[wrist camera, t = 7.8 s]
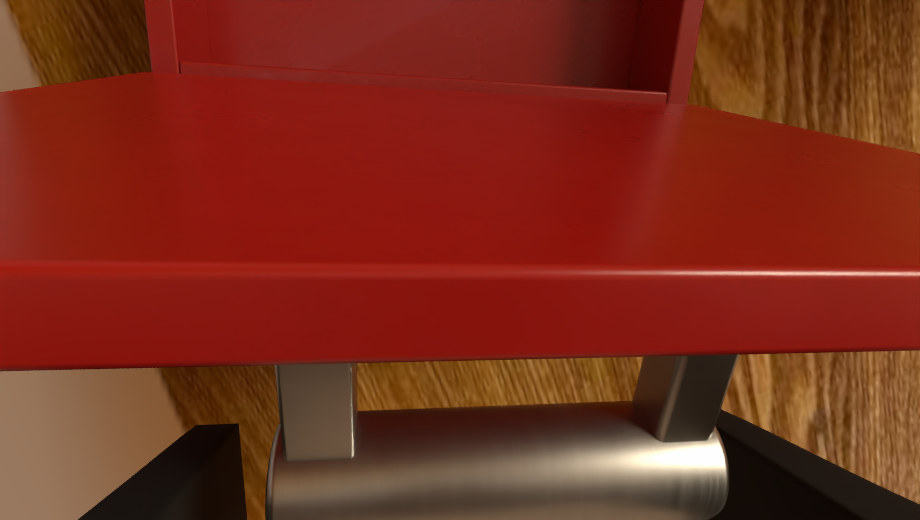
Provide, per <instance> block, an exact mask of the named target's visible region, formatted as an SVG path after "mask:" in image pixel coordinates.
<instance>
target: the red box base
mask: <svg viewBox="0 0 920 520" xmlns="http://www.w3.org/2000/svg"><path fill="white" fill-rule="evenodd" d="M703 6H704V0H144V7H145V16H146V25H147V34H148V43H149V51H150V60H151V69H152V72H156V73H172V74H189V75H205V76H222V77H238V78H255V79H271V80H288V81H304V82H321V83H337V84H354V85H370V86H387V87H403V88H420V89H436V90H453V91H469V92H486V93H502V94H519V95H535V96H552V97H568V98H585V99H601V100H618V101H634V102H651V103H667V104H684V105H687V100H688V94H689V88H690V83H691V77H692V71H693V65H694V59H695V53H696V47H697V41H698V35H699V29H700V24H701V18H702V12H703Z"/></svg>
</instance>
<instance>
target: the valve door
mask: <svg viewBox="0 0 920 520" xmlns="http://www.w3.org/2000/svg"><path fill="white" fill-rule="evenodd" d="M910 350H920V154H918V153H914V152H909V151H905V150H900V149H895V148H891V147H886V146H881V145H877V144H872V143H868V142H863V141H858V140H854V139H849V138H845V137H840V136H835V135H831V134H826V133H821V132H817V131H812V130H808V129H803V128H798V127H794V126H789V125H785V124H780V123H775V122H771V121H766V120H761V119H757V118H752V117H748V116H743V115H738V114H734V113H729V112H724V111H720V110H715V109H711V108H706V107H701V106H697V105H684V104H667V103H651V102H634V101H618V100H601V99H585V98H568V97H552V96H535V95H519V94H502V93H486V92H469V91H453V90H436V89H420V88H403V87H387V86H370V85H354V84H337V83H321V82H304V81H288V80H271V79H255V78H238V77H222V76H205V75H189V74H172V73H156V72H141V73H134V74H126V75H119V76H112V77H105V78H98V79H91V80H84V81H77V82H70V83H63V84H56V85H49V86H41V87H35V88H27V89H21V90H13V91H6V92H0V371H28V370H73V369H116V368H161V367H205V366H249V365H275V376H276V386H277V397H278V407H279V418H280V423H279V425H278V428H277V430H276V433H275V436H274V439H273V443H272V448H271V453H270V458H269V465H268V473H267V483H266V500H265V517H266V520H709V519H711V518H713V517H714V516H715V515H717V514H718V513H719V512H720V511H721V510H722V509H723V507H724V505H725V503H726V500H727V497H728V492H729V482H730V479H729V465H728V460H727V455H726V451H725V448H724V445H723V442H722V439H721V437H720V435H719V433H718V431H717V429H716V427H715V424H716V421H717V418H718V416H719V413H720V410H721V407H722V404H723V401H724V398H725V395H726V393H727V390H728V387H729V384H730V381H731V378H732V375H733V372H734V370H735V367H736V364H737V361H738V358H739V355H740V354H778V353H822V352H866V351H910ZM601 357H643V361H642V365H641V369H640V373H639V376H638V380H637V384H636V388H635V392H634V396H633V400H632V401H616V402H589V403H562V404H535V405H508V406H481V407H454V408H427V409H400V410H373V411H358V410H357V363H381V362H425V361H469V360H513V359H557V358H601Z"/></svg>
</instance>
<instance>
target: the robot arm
mask: <svg viewBox="0 0 920 520" xmlns="http://www.w3.org/2000/svg"><path fill="white" fill-rule="evenodd" d="M715 427H716V429H717V431H718V433H719V435H720V437H721V439H722V442H723V445H724V448H725V451H726V455H727V460H728V465H729V479H730V482H729V492H728V497H727V500H726V503H725V505H724V507H723V509H722V510H721V511H720V512H719V513H718V514H717V515H715V516H714V517H713V518H711V519H709V520H920V505H919V504H917V503H915V502H913V501H911V500H908V499H906V498H904V497H902V496H900V495H897V494H895V493H893V492H891V491H889V490H887V489H885V488H883V487H881V486H879V485H876V484H874V483H872V482H870V481H868V480H866V479H864V478H862V477H860V476H858V475H856V474H854V473H851V472H849V471H847V470H845V469H843V468H841V467H839V466H837V465H835V464H833V463H831V462H829V461H827V460H825V459H823V458H821V457H819V456H817V455H815V454H813V453H811V452H809V451H807V450H805V449H803V448H801V447H799V446H797V445H795V444H793V443H791V442H789V441H787V440H785V439H783V438H781V437H779V436H776V435H774V434H772V433H770V432H768V431H766V430H764V429H762V428H760V427H758V426H756V425H754V424H752V423H750V422H748V421H745V420H743V419H741V418H739V417H737V416H735V415H732V414H730V413H728V412H726V411H723V410H720V413H719V416H718V418H717V421H716V424H715ZM78 520H247V513H246V502H245V491H244V479H243V468H242V457H241V445H240V434H239V424H215V425H196V426H195V427H193V428H192V429H191V430H189V431H188V432H187V433H185V434H184V435H183V436H181V437H180V438H179V439H178V440H176V441H175V442H174V443H173V444H172V445H170V446H169V447H168V448H166V449H165V450H164V451H163V452H162V453H160V454H159V455H158V456H157V457H155V458H154V459H153V460H152V461H150V462H149V463H148V464H147V465H146V466H144V467H143V468H142V469H141V470H139V471H138V472H137V473H136V474H135V475H133V476H132V477H131V478H130V479H128V480H127V481H126V482H125V483H123V484H122V485H121V486H119V488H117V489H116V490H114V491H113V492H112V493H111V494H110V495H108V496H107V497H106V498H105V499H103V500H102V501H101V502H99V503H98V504H97V505H96V506H95V507H93V508H92V509H91V510H89V511H88V512H87V513H86V514H84V515H83V516H82V517H80V519H78Z"/></svg>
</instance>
